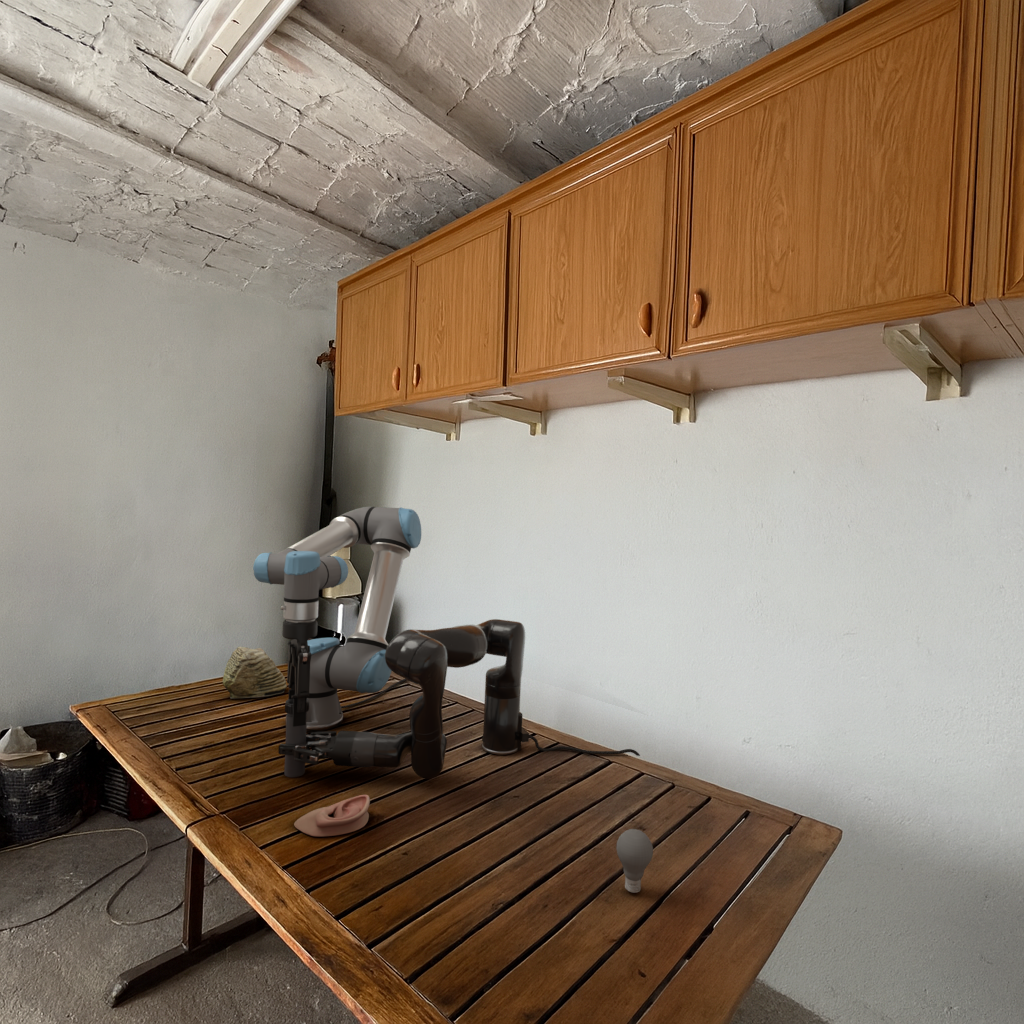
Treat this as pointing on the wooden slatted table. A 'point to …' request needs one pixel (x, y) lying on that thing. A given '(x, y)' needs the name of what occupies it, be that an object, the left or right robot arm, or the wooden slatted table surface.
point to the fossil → (252, 674)
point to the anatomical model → (336, 818)
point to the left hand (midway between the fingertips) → (296, 720)
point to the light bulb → (634, 857)
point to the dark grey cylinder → (296, 737)
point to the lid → (290, 706)
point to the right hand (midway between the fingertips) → (284, 744)
